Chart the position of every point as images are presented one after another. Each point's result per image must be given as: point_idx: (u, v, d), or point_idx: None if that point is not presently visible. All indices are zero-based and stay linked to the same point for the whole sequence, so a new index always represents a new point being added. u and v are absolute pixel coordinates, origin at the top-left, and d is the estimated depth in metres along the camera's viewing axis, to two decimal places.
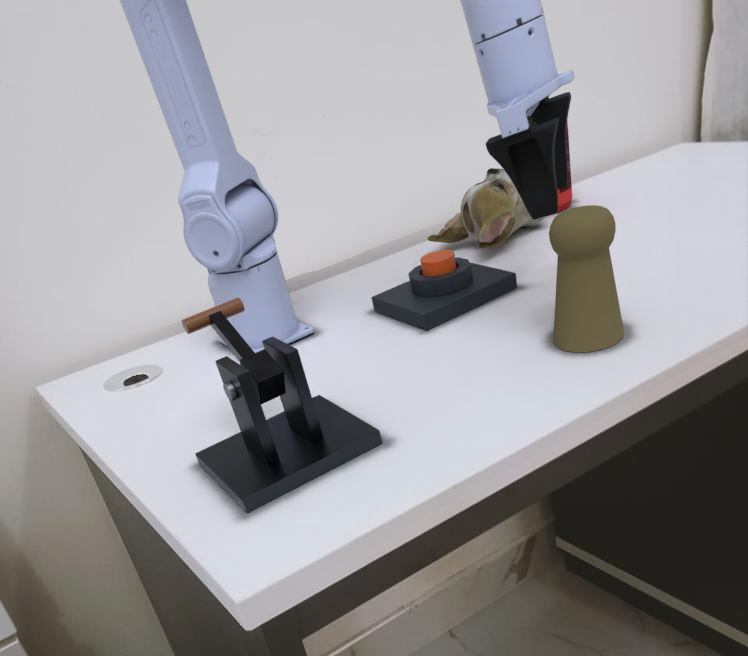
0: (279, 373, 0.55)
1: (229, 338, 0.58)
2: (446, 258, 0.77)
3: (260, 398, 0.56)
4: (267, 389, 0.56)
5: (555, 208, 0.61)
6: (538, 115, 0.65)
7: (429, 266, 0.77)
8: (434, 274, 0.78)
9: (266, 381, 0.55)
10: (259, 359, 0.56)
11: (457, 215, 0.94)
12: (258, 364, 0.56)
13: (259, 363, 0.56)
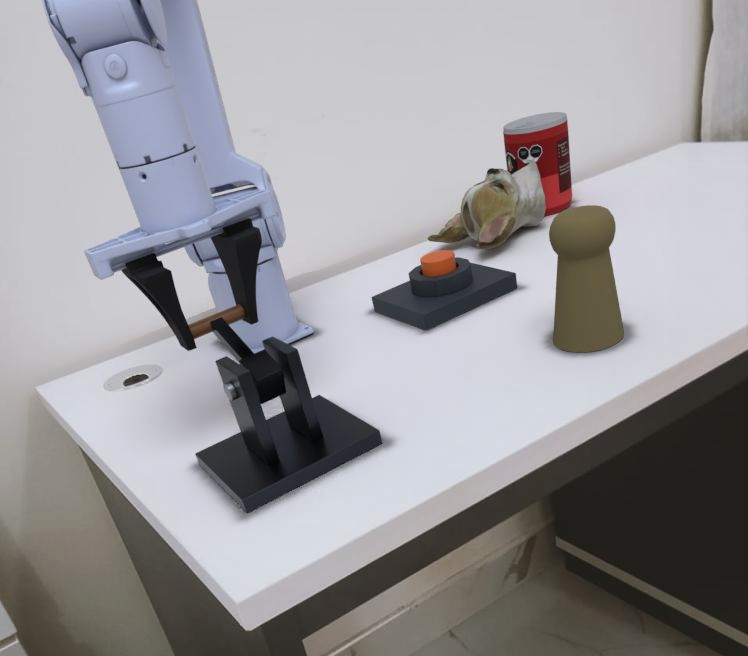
0: (278, 371, 0.55)
1: (230, 342, 0.58)
2: (446, 258, 0.77)
3: (260, 397, 0.56)
4: (267, 388, 0.56)
5: (186, 346, 0.59)
6: (223, 244, 0.58)
7: (429, 266, 0.77)
8: (434, 274, 0.78)
9: (265, 380, 0.55)
10: (258, 359, 0.56)
11: (457, 215, 0.94)
12: (258, 363, 0.56)
13: (258, 362, 0.56)
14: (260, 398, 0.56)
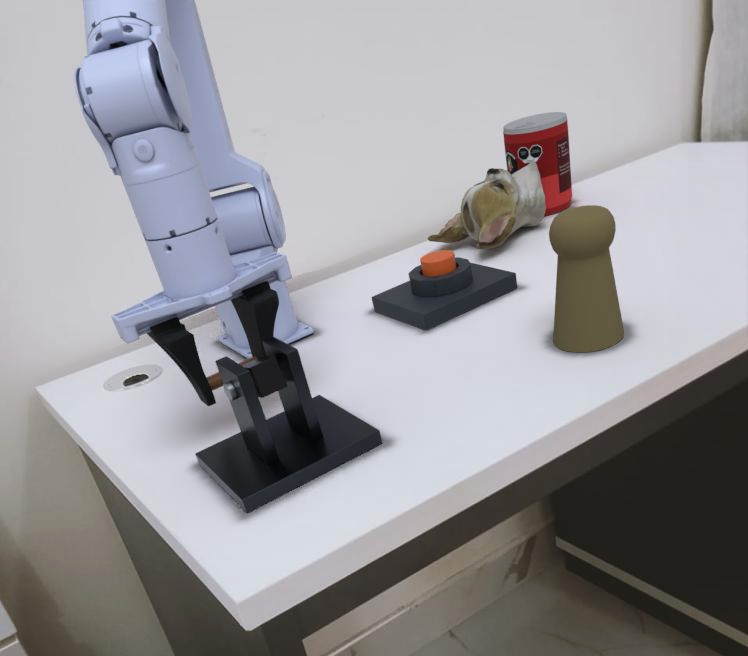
0: (271, 359, 0.55)
1: None
2: (446, 258, 0.77)
3: (259, 389, 0.55)
4: (263, 378, 0.55)
5: (206, 402, 0.62)
6: (242, 305, 0.61)
7: (429, 266, 0.77)
8: (434, 274, 0.78)
9: (259, 367, 0.55)
10: (256, 360, 0.57)
11: (457, 215, 0.94)
12: (254, 362, 0.56)
13: (255, 361, 0.56)
14: (259, 390, 0.55)
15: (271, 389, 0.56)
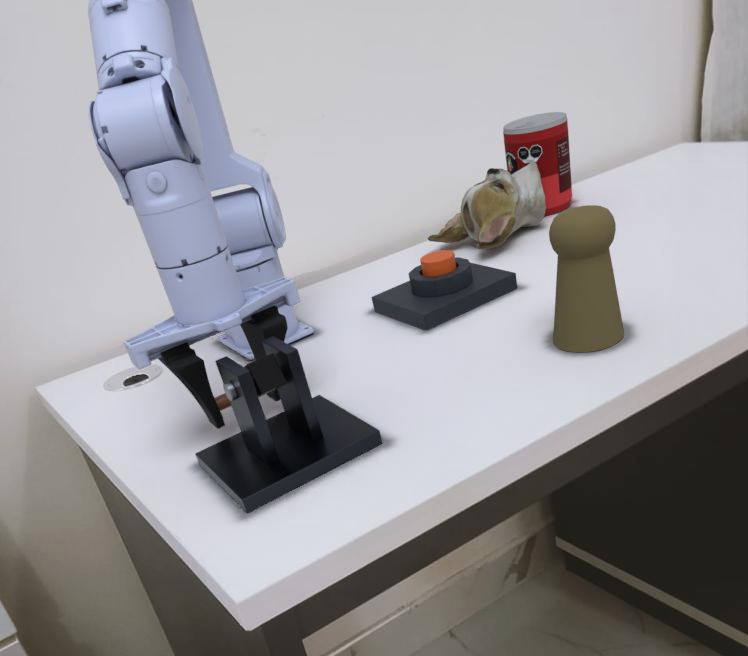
0: (269, 355, 0.55)
1: None
2: (446, 258, 0.77)
3: (258, 385, 0.55)
4: (262, 374, 0.55)
5: (216, 425, 0.63)
6: (251, 329, 0.62)
7: (429, 266, 0.77)
8: (434, 274, 0.78)
9: (256, 364, 0.55)
10: None
11: (457, 215, 0.94)
12: None
13: None
14: (258, 386, 0.55)
15: (270, 385, 0.55)
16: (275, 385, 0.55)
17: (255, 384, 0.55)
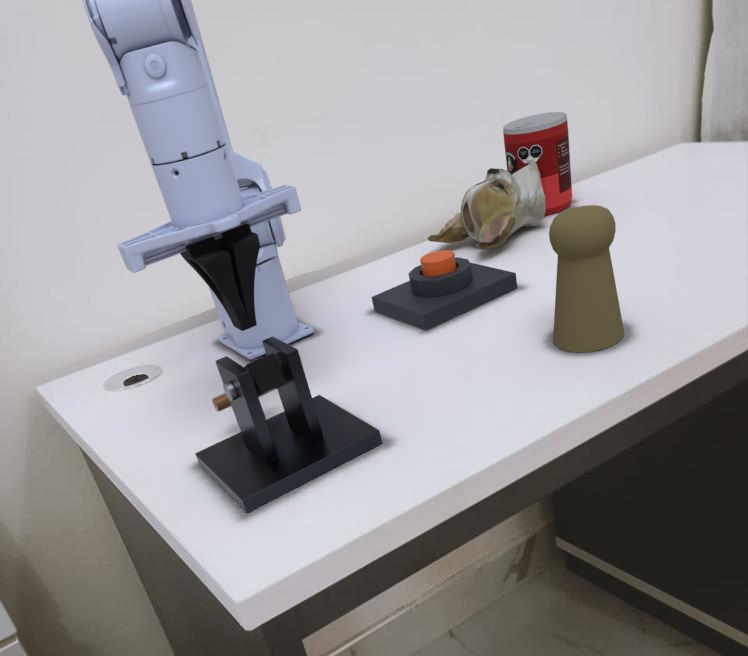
0: (269, 355, 0.55)
1: None
2: (446, 258, 0.77)
3: (258, 385, 0.55)
4: (262, 374, 0.55)
5: (240, 327, 0.62)
6: (222, 249, 0.59)
7: (429, 266, 0.77)
8: (434, 274, 0.78)
9: (256, 364, 0.55)
10: None
11: (457, 215, 0.94)
12: None
13: None
14: (258, 386, 0.55)
15: (270, 385, 0.55)
16: (275, 385, 0.55)
17: (255, 384, 0.55)
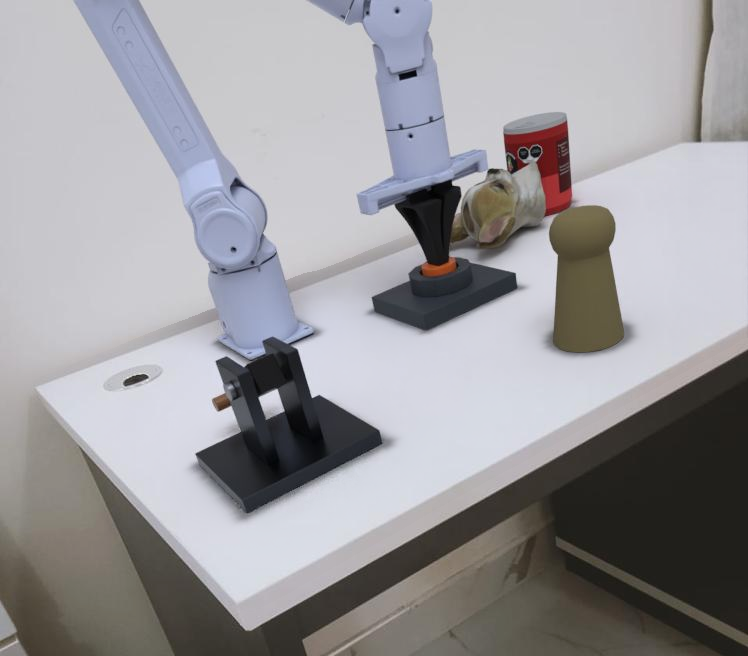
0: (269, 355, 0.55)
1: None
2: (447, 265, 0.77)
3: (258, 385, 0.55)
4: (262, 374, 0.55)
5: (437, 262, 0.77)
6: None
7: (430, 273, 0.78)
8: None
9: (256, 364, 0.55)
10: None
11: (457, 215, 0.94)
12: None
13: None
14: (258, 386, 0.55)
15: (270, 385, 0.55)
16: (275, 385, 0.55)
17: (255, 384, 0.55)
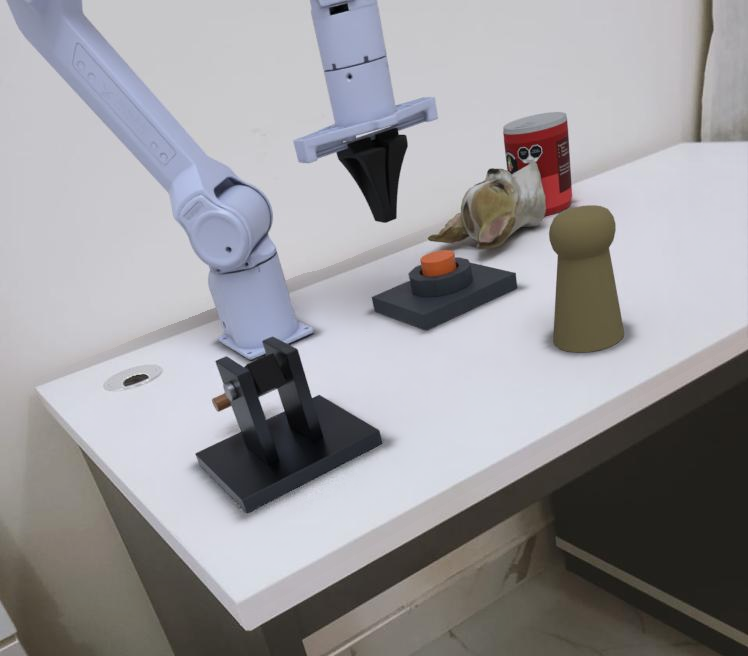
0: (269, 355, 0.55)
1: None
2: (446, 258, 0.77)
3: (258, 385, 0.55)
4: (262, 374, 0.55)
5: (384, 219, 0.72)
6: None
7: (429, 266, 0.77)
8: (434, 274, 0.78)
9: (256, 364, 0.55)
10: None
11: (457, 215, 0.94)
12: None
13: None
14: (258, 386, 0.55)
15: (270, 385, 0.55)
16: (275, 385, 0.55)
17: (255, 384, 0.55)
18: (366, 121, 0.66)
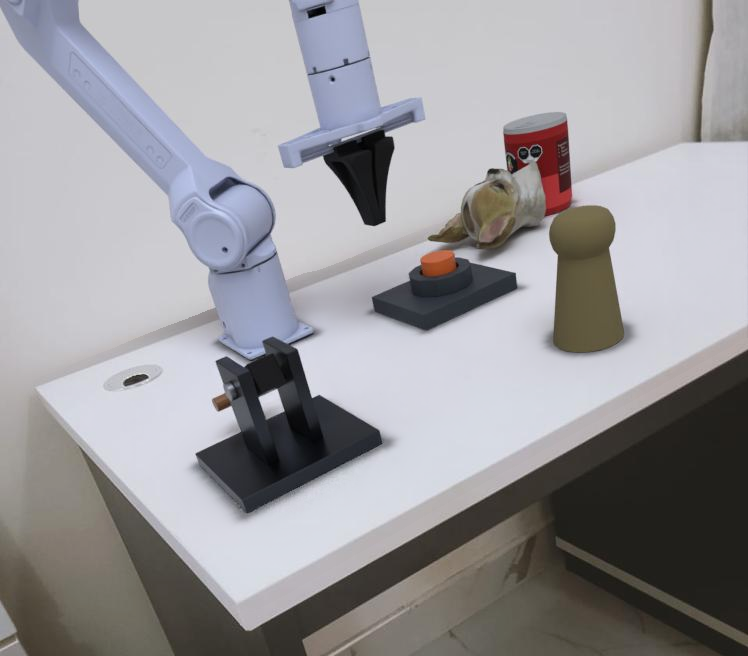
0: (269, 355, 0.55)
1: None
2: (446, 258, 0.77)
3: (258, 385, 0.55)
4: (262, 374, 0.55)
5: (373, 222, 0.71)
6: None
7: (429, 266, 0.77)
8: (434, 274, 0.78)
9: (256, 364, 0.55)
10: None
11: (457, 215, 0.94)
12: None
13: None
14: (258, 386, 0.55)
15: (270, 385, 0.55)
16: (275, 385, 0.55)
17: (255, 384, 0.55)
18: (351, 124, 0.65)
